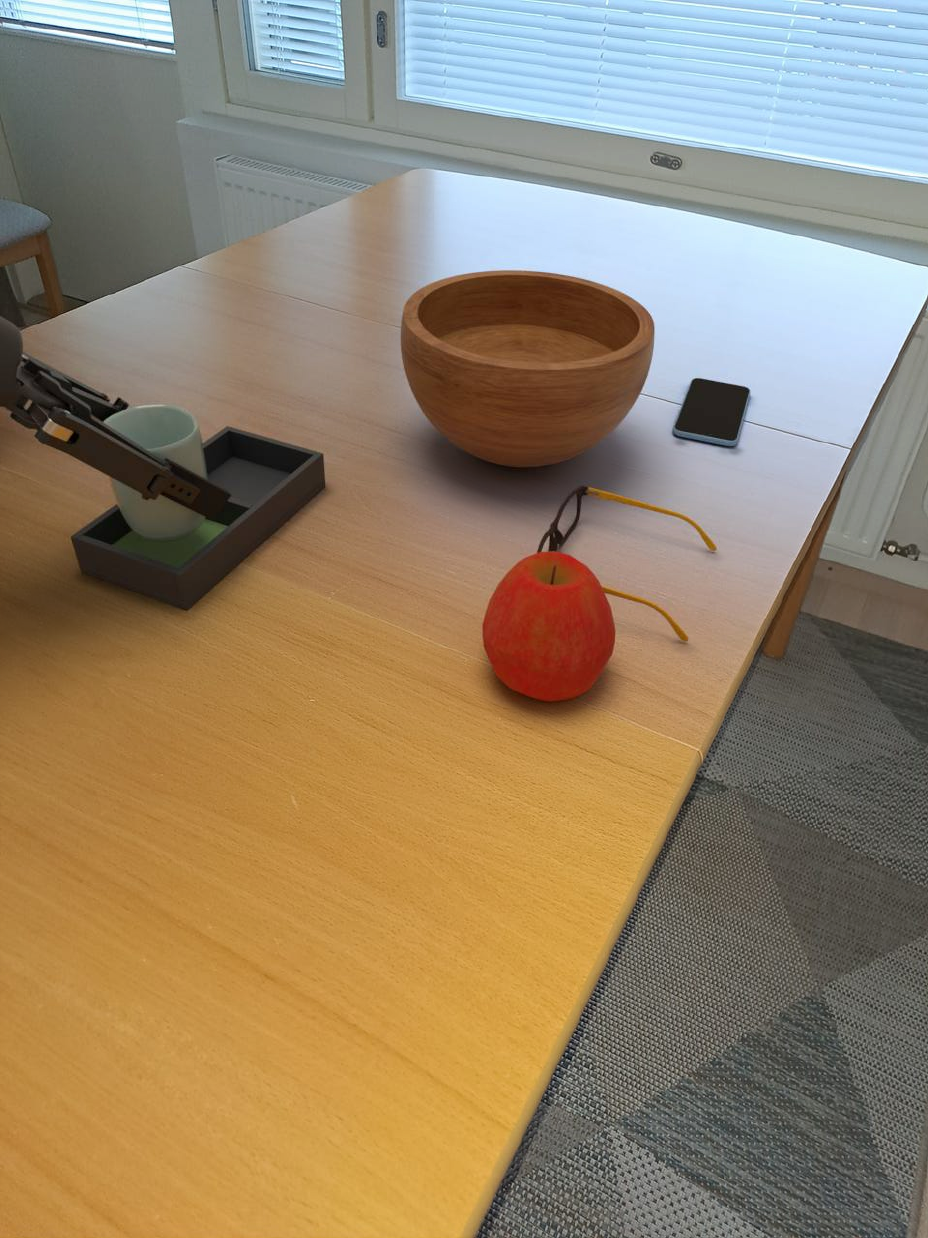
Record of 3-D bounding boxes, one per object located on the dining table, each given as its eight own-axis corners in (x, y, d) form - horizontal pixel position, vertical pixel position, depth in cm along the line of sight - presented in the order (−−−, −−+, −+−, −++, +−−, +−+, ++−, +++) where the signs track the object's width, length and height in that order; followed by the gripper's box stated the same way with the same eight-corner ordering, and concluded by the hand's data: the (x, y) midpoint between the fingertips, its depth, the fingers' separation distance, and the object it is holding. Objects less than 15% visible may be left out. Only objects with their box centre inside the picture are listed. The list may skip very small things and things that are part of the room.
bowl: (355, 437, 100) (349, 301, 90) (522, 378, 112) (533, 253, 103) (508, 545, 85) (521, 397, 76) (680, 463, 98) (710, 327, 88)
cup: (188, 494, 84) (171, 395, 78) (230, 533, 80) (215, 431, 74) (107, 522, 80) (82, 420, 74) (147, 565, 76) (123, 461, 70)
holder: (80, 572, 80) (70, 536, 77) (231, 458, 95) (227, 425, 93) (187, 610, 76) (179, 574, 74) (325, 486, 92) (323, 453, 89)
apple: (474, 628, 76) (480, 524, 69) (595, 626, 77) (613, 523, 70) (484, 717, 68) (493, 610, 62) (619, 714, 69) (642, 608, 62)
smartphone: (752, 386, 111) (737, 442, 100) (750, 393, 112) (736, 449, 101) (691, 375, 113) (671, 428, 102) (690, 381, 113) (669, 435, 102)
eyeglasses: (568, 515, 90) (573, 480, 87) (715, 551, 86) (725, 516, 83) (522, 599, 79) (525, 562, 77) (687, 644, 76) (696, 607, 73)
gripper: (11, 357, 55) (278, 504, 73) (-66, 251, 67) (178, 399, 85) (-55, 457, 56) (225, 578, 74) (-119, 335, 68) (133, 464, 86)
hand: (200, 482), depth 80 cm, fingers closed on cup, 8 cm apart
